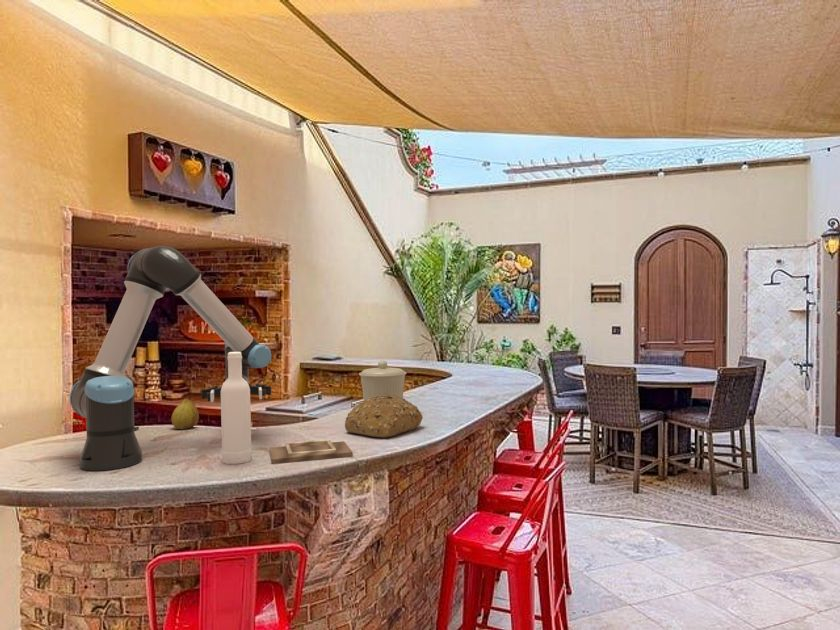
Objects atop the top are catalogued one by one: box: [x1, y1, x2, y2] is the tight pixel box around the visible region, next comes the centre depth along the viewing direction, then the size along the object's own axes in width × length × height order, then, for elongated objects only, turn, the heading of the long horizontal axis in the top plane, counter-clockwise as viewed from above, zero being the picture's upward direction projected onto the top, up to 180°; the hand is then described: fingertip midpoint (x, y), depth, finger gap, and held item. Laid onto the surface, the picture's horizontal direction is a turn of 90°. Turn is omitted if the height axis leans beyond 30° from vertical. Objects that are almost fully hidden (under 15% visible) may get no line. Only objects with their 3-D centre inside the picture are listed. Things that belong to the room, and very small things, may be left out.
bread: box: [344, 395, 423, 439], centre depth 197 cm, size 24×21×12 cm
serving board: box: [269, 439, 354, 465], centre depth 168 cm, size 22×14×2 cm, turn 107°
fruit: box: [170, 393, 200, 430], centre depth 207 cm, size 9×9×12 cm
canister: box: [358, 360, 407, 401], centre depth 224 cm, size 18×18×21 cm
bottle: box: [220, 352, 253, 465], centre depth 162 cm, size 8×8×30 cm
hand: (236, 396), depth 171 cm, fingers open, 13 cm apart
